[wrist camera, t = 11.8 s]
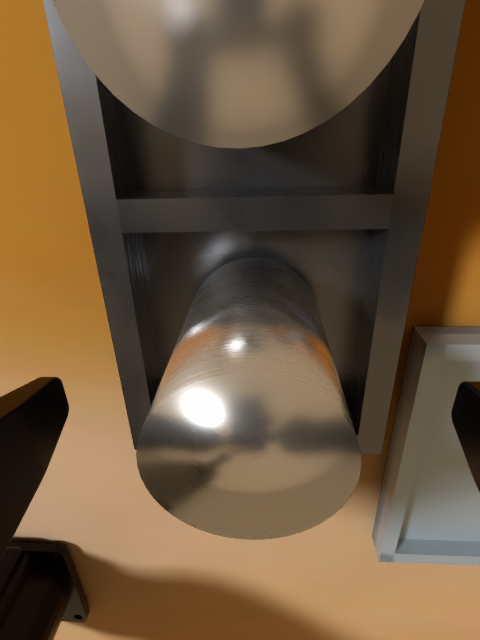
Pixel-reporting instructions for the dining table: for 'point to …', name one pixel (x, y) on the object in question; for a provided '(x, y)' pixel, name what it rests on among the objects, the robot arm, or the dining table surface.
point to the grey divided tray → (267, 214)
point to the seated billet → (237, 60)
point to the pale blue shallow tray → (431, 457)
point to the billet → (250, 411)
